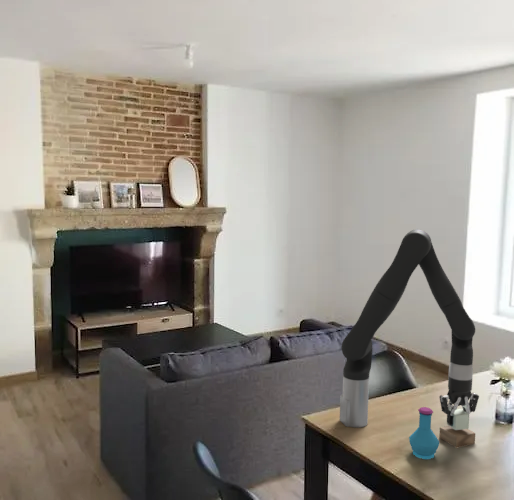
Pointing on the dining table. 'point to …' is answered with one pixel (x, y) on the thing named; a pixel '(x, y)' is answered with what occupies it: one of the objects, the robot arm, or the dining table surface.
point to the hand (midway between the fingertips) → (457, 424)
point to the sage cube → (460, 420)
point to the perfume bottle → (424, 436)
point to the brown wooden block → (457, 436)
